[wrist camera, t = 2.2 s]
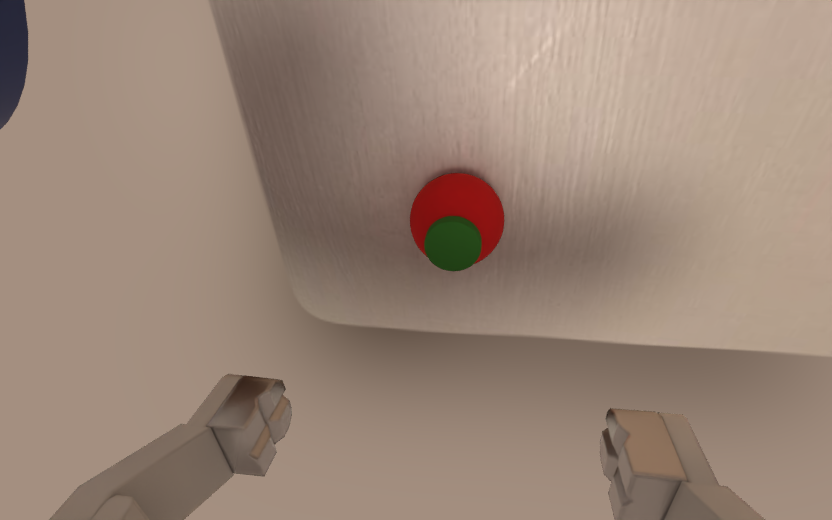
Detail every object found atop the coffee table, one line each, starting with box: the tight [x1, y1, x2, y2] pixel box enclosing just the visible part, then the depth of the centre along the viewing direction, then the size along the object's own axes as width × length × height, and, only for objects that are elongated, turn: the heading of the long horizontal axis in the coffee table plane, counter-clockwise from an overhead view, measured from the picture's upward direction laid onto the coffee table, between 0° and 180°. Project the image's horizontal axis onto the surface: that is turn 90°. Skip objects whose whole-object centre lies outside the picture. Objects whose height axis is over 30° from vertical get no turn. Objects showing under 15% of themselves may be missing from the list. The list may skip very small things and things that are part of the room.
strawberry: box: [410, 173, 504, 271], centre depth 19 cm, size 4×4×5 cm
